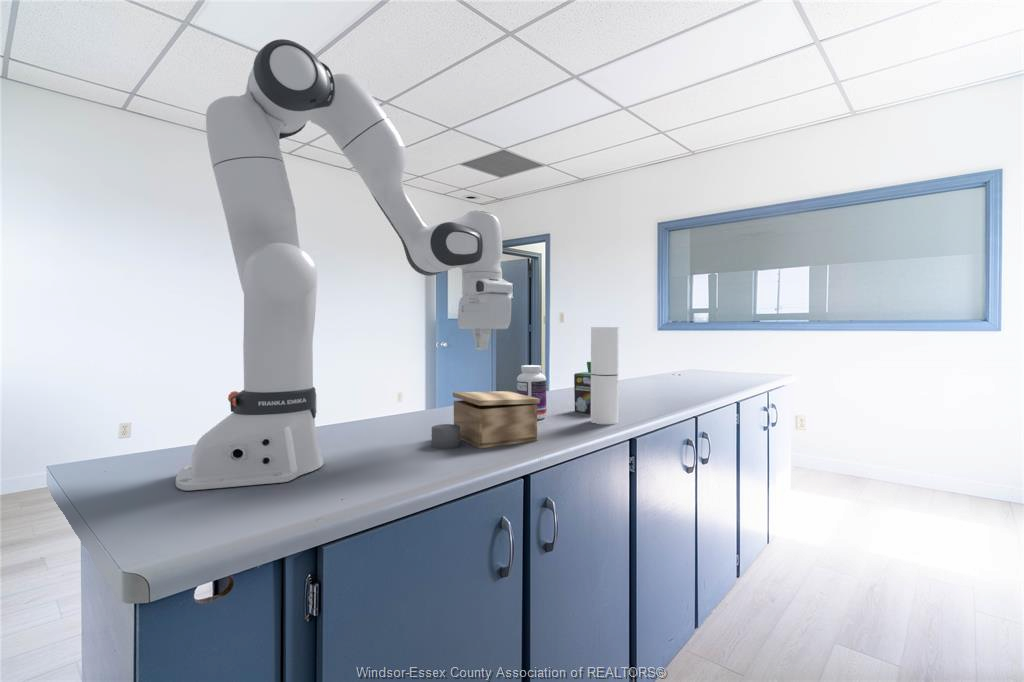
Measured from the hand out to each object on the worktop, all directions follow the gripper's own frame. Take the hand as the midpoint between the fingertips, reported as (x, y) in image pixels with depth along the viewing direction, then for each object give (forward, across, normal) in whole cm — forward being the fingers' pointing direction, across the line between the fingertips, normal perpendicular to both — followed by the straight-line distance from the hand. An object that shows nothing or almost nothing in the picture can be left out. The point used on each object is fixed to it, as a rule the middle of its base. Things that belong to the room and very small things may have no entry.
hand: (481, 349), depth 109 cm
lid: (+11, 0, +4) cm, 12 cm away
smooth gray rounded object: (+20, +1, -9) cm, 22 cm away
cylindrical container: (+20, -3, +37) cm, 42 cm away
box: (+20, 0, +3) cm, 20 cm away
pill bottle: (+20, -17, +23) cm, 35 cm away
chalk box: (+20, -17, +45) cm, 52 cm away
